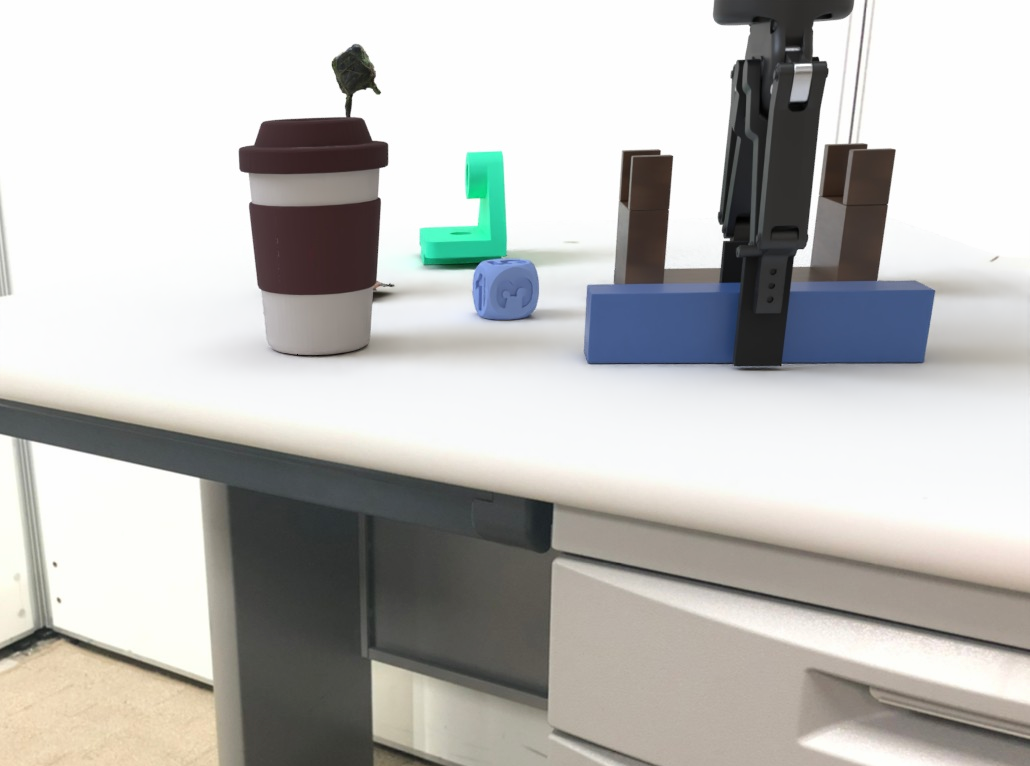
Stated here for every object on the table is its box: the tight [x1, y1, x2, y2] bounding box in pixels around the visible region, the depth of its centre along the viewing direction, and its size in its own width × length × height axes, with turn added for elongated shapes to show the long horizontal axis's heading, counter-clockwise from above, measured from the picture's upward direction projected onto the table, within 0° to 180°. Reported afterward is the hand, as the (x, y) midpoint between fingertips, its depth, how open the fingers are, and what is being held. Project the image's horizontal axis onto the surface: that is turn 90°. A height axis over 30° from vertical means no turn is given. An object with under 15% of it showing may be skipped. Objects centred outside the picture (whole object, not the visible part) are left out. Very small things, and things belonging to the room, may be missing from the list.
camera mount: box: [419, 150, 508, 266], centre depth 118 cm, size 12×8×10 cm, turn 178°
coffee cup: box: [238, 116, 389, 356], centre depth 81 cm, size 10×10×15 cm
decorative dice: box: [472, 258, 540, 321], centre depth 91 cm, size 4×4×4 cm
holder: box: [613, 142, 897, 284], centre depth 96 cm, size 19×9×11 cm, turn 81°
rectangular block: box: [583, 279, 936, 364], centre depth 75 cm, size 20×4×4 cm, turn 81°
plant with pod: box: [331, 43, 395, 292], centre depth 100 cm, size 8×11×20 cm
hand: (745, 352), depth 76 cm, fingers open, 6 cm apart
